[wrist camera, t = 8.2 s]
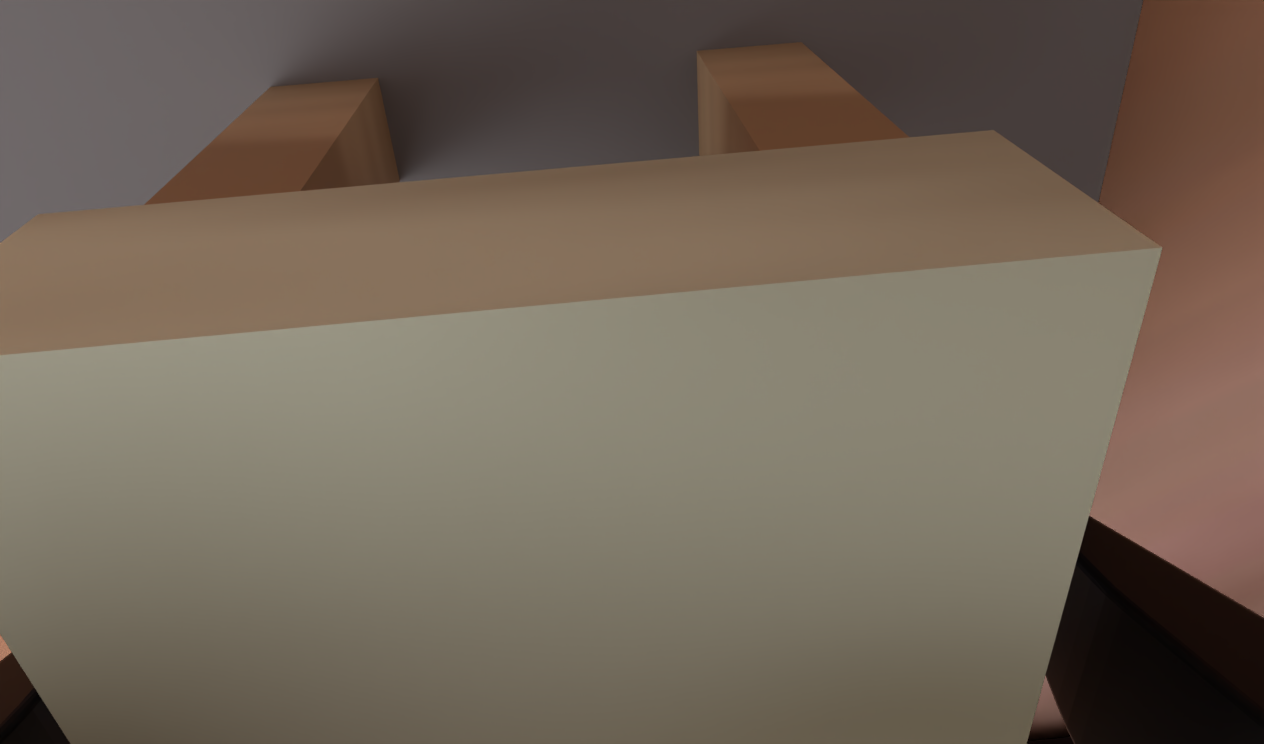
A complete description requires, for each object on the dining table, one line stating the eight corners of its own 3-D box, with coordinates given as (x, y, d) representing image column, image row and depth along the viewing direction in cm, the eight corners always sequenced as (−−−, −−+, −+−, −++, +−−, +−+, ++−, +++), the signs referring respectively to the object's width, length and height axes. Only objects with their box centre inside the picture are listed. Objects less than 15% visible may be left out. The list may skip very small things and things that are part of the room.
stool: (797, 587, 15) (943, 1046, 9) (404, 628, 15) (312, 1122, 9) (824, 12, 10) (1162, 247, 4) (239, 61, 10) (-169, 369, 4)
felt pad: (1184, -290, 9) (1208, -295, 9) (986, 646, 16) (995, 664, 16) (-219, -179, 9) (-251, -181, 8) (226, 729, 16) (219, 748, 16)
